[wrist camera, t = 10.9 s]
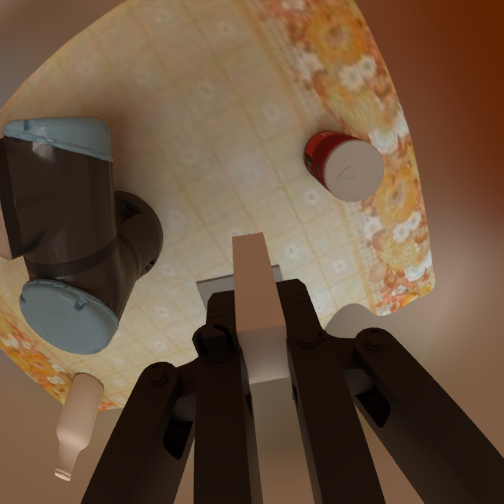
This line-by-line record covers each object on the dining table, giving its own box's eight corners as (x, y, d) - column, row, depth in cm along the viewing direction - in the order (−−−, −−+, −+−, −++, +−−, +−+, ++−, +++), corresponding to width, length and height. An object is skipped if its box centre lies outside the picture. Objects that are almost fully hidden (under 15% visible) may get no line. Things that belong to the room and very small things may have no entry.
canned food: (292, 157, 42) (311, 175, 32) (327, 119, 39) (357, 125, 29) (327, 189, 44) (353, 215, 35) (360, 153, 42) (395, 170, 32)
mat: (218, 337, 57) (218, 339, 57) (196, 282, 51) (196, 284, 50) (289, 323, 57) (289, 325, 56) (278, 264, 50) (279, 266, 50)
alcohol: (77, 367, 61) (44, 466, 35) (107, 382, 64) (82, 482, 38) (73, 382, 64) (44, 472, 38) (100, 395, 67) (78, 487, 41)
